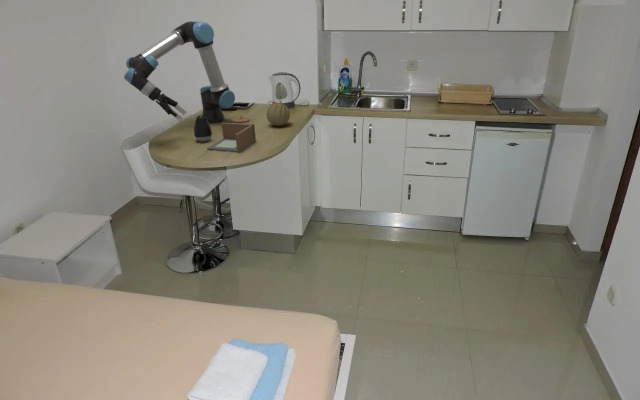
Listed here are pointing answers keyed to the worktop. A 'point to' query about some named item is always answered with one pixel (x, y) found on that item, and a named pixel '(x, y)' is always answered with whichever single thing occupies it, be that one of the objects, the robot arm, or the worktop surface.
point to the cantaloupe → (278, 114)
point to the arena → (235, 137)
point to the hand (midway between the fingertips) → (183, 116)
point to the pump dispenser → (202, 129)
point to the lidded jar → (241, 120)
